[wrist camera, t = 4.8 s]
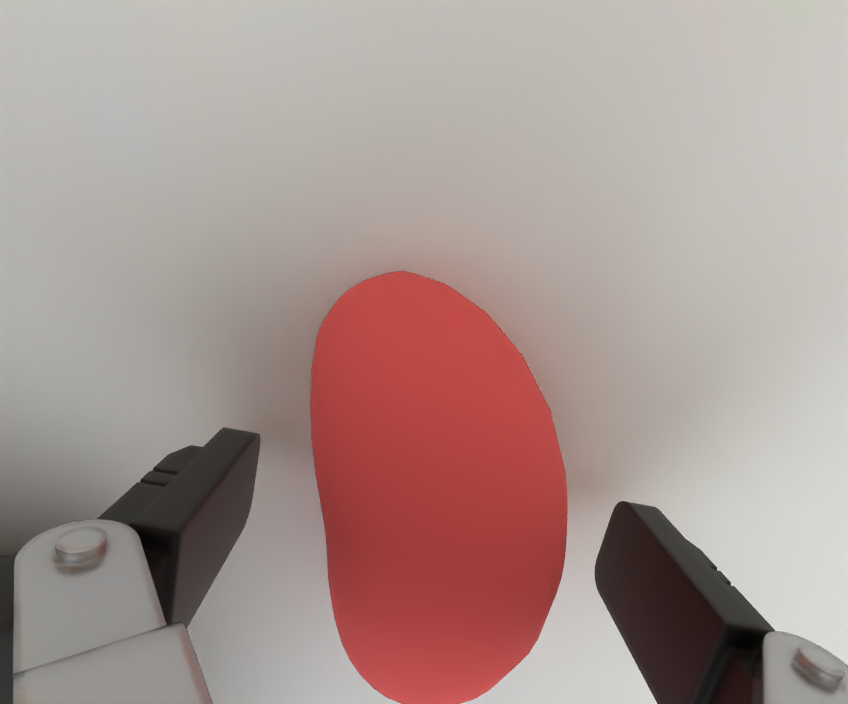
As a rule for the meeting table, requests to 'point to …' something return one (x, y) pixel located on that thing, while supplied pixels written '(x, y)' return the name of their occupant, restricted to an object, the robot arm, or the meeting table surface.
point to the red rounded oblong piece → (433, 490)
